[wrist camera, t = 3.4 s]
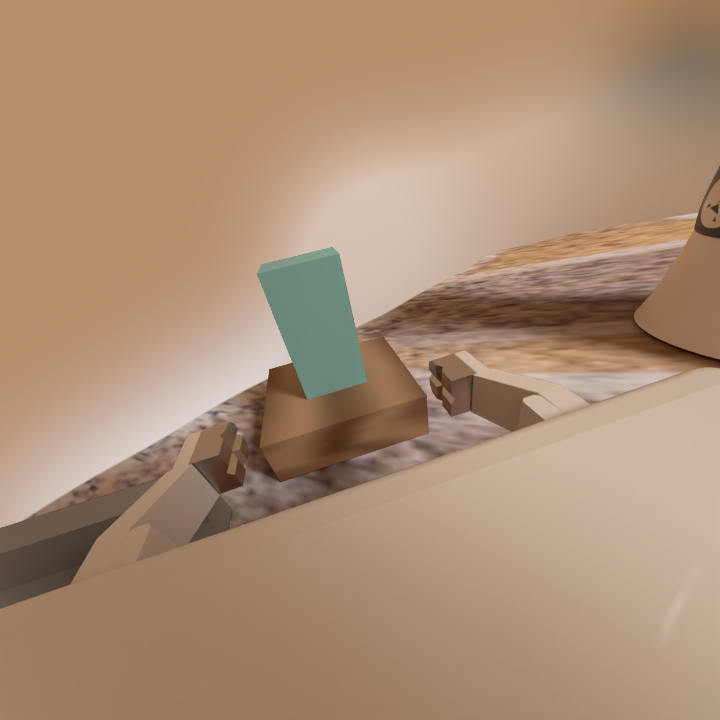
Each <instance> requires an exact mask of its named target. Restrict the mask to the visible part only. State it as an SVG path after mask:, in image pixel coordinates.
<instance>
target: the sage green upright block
mask: <svg viewBox="0 0 720 720" xmlns="http://www.w3.org/2000/svg"><path fill="white" fill-rule="evenodd" d="M257 275H258V278H259V280H260V283H261V285H262V288H263V290H264V292H265V295H266V297H267V300H268V303H269V305H270V307H271V310H272V313H273V315H274V318H275V320H276V323H277V325H278V328H279V330H280V333H281V335H282V338H283V340H284V343H285V345H286V348H287V350H288V353H289V355H290V357H291V360H292V363H293V365H294V367H295V370H296V372H297V375H298V377H299V380H300V382H301V385H302V387H303V390H304V392H305V395H306V397H307V400H309V399H312V398H315V397H319V396H322V395H325V394H329V393H332V392H335V391H338V390H342V389H345V388H348V387H352V386H355V385H358V384H362V383H365V382H367V378H366V374H365V369H364V364H363V360H362V355H361V351H360V346H359V342H358V337H357V333H356V328H355V323H354V319H353V314H352V310H351V305H350V301H349V296H348V292H347V287H346V282H345V278H344V273H343V269H342V264H341V260H340V255H339V253H338V252H337V251H336V250H335V249H334V248H333V247H331V248H327V249H323V250H318V251H314V252H310V253H306V254H302V255H298V256H294V257H290V258H286V259H282V260H278V261H274V262H270V263H266V264H262V265H261V267H260V269H259V271H258V273H257Z"/></svg>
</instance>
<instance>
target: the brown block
mask: <svg viewBox="0 0 720 720" xmlns="http://www.w3.org/2000/svg"><path fill="white" fill-rule="evenodd" d="M359 346H360V351H361V355H362V360H363V364H364V369H365V374H366V378H367V382H365V383H362V384H358V385H355V386H352V387H348V388H345V389H342V390H338V391H335V392H332V393H329V394H325V395H322V396H319V397H315V398H312V399H309V400H307V397H306V395H305V392H304V390H303V387H302V385H301V382H300V380H299V377H298V375H297V372H296V370H295V367H294V365H293V363H290V364H287V365H283V366H279V367H276V368H273V369H270V370H269V377H268V385H267V392H266V400H265V408H264V416H263V424H262V432H261V440H260V447H259V448H260V450H261V451H262V453H263V455H264V456H265V458H266V459H267V461H268V463H269V464H270V466H271V467H272V469H273V471H274V472H275V474H276V475H277V477H278V479H279V480H280V482H282V481H285V480H288V479H291V478H294V477H297V476H300V475H303V474H306V473H309V472H312V471H315V470H318V469H321V468H324V467H327V466H330V465H333V464H336V463H339V462H343V461H346V460H349V459H352V458H355V457H358V456H361V455H364V454H367V453H370V452H373V451H376V450H379V449H382V448H385V447H388V446H391V445H394V444H397V443H400V442H403V441H406V440H409V439H412V438H415V437H418V436H421V435H424V434H427V433H429V428H428V412H427V396H426V394H425V393H424V391H423V390H422V389H421V387H420V386H419V385H418V383H417V382H416V380H415V379H414V378H413V376H412V375H411V374H410V372H409V371H408V370H407V368H406V367H405V365H404V364H403V363H402V361H401V360H400V359H399V357H398V356H397V355H396V353H395V352H394V350H393V349H392V348H391V346H390V345H389V344H388V342H387V341H386V340H385V338H384V337H381V338H377V339H374V340H370V341H367V342H363V343H360V344H359Z"/></svg>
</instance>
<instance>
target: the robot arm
mask: <svg viewBox="0 0 720 720" xmlns="http://www.w3.org/2000/svg"><path fill="white" fill-rule="evenodd" d="M634 319H635V321H636V323H637V324H638V325H639V326H640V327H641V328H642V329H643V330H645V331H646V332H648V333H649V334H651V335H653V336H654V337H656V338H658V339H660V340H662V341H665V342H667V343H669V344H672V345H674V346H677V347H680V348H683V349H686V350H689V351H692V352H695V353H698V354H701V355H705V356H709V357H712V358H716V359H720V166H719V169H718V170H717V172H716V174H715V176H714V178H713V180H712V182H711V184H710V186H709V189H708V191H707V193H706V195H705V197H704V199H703V202H702V204H701V207H700V210H699V213H698V216H697V220H696V224H695V228H694V231H693V232H692V234H691V236H690V238H689V239H688V241H687V243H686V244H685V246H684V248H683V249H682V251H681V252H680V254H679V256H678V257H677V259H676V260H675V262H674V263H673V265H672V266H671V268H670V269H669V271H668V272H667V273H666V275H665V276H664V278H663V279H662V280H661V282H660V283H659V284H658V286H657V287H656V288H655V290H654V291H653V292H652V293H651V294H650V296H649V297H648V298H647V299H646V300H645V301H644V303H643V304H642V305H641V306H640V307H639V308H638V309H637V310H636V311H635V313H634ZM429 370H430V371H431V373H432V375H431V376H430V378H429V379H430V386H431V389H432V392H433V393H434V395H435V397H436V398H437V399H439V400H442V401H443V407H444V408H445V409H446V411H447V412H448V413H449V414H450V416H451V417H452V416H455V415H459V414H462V413H465V412H469V411H471V412H473V413H475V414H477V415H479V416H481V417H483V418H485V419H487V420H489V421H491V422H493V423H495V424H497V425H499V426H501V427H503V428H505V429H507V430H509V431H511V432H510V433H507V434H504V435H501V436H498V437H495V438H492V439H490V440H487V441H484V442H481V443H478V444H475V445H472V446H469V447H466V448H464V449H461V450H458V451H455V452H452V453H449V454H446V455H443V456H440V457H437V458H435V459H432V460H429V461H426V462H423V463H420V464H417V465H414V466H411V467H409V468H406V469H403V470H400V471H397V472H394V473H391V474H388V475H385V476H382V477H380V478H377V479H374V480H371V481H368V482H365V483H362V484H359V485H356V486H354V487H351V488H348V489H345V490H342V491H339V492H336V493H333V494H330V495H328V496H325V497H322V498H319V499H316V500H313V501H310V502H307V503H304V504H302V505H299V506H296V507H293V508H290V509H287V510H284V511H281V512H278V513H276V514H273V515H270V516H267V517H264V518H261V519H258V520H255V521H252V522H250V523H247V524H244V525H241V526H238V527H235V528H232V529H229V530H226V531H224V532H221V533H218V534H215V535H212V536H209V537H206V538H203V539H200V540H197V541H195V542H192V543H189V542H190V540H191V539H192V537H193V535H194V534H195V532H196V531H197V529H198V528H199V526H200V525H201V523H202V522H203V520H204V519H205V517H206V516H207V514H208V513H209V511H210V510H211V508H212V507H213V505H214V503H215V502H216V500H217V499H218V497H219V496H220V495H219V494H221V493H224V492H227V491H229V490H232V489H235V488H238V487H241V486H243V482H244V476H245V469H244V467H243V465H244V463H245V462H246V461H247V458H248V448H247V444H246V442H245V440H244V438H243V437H242V436H240V435H237V434H236V433H237V428H236V426H235V425H234V424H233V423H231V422H229V423H225V424H222V425H218V426H215V427H211V428H208V429H204V430H201V431H198V432H194V433H191V434H190V435H188V436H187V438H186V440H185V442H184V444H183V447H182V449H181V451H180V453H179V455H178V458H177V460H176V462H175V464H174V466H173V469H172V470H171V471H168V472H166V473H165V474H164V475H163V476H162V477H161V478H160V479H159V480H158V481H157V482H156V483H155V484H154V485H153V486H152V487H151V488H150V489H149V490H148V491H147V492H145V493H144V494H143V495H142V496H141V497H140V498H139V499H138V500H137V501H136V502H135V503H134V504H133V505H132V506H131V507H130V508H129V509H128V510H127V511H126V512H125V513H124V514H122V515H121V516H120V517H119V518H118V519H117V520H116V521H115V522H114V523H113V524H112V525H111V526H110V527H109V528H108V529H107V530H106V531H105V532H104V533H103V534H102V535H100V536H99V537H98V538H97V539H96V541H95V543H94V545H93V546H92V548H91V550H90V551H89V553H88V555H87V557H86V558H85V560H84V562H83V563H82V565H81V567H80V569H79V570H78V572H77V574H76V575H75V577H74V579H73V581H72V582H71V584H70V585H67V586H65V587H62V588H59V589H56V590H53V591H50V592H47V593H44V594H41V595H39V596H36V597H33V598H30V599H27V600H24V601H21V602H18V603H15V604H13V605H10V606H7V607H4V608H1V609H0V720H720V368H711V367H705V368H697V369H693V370H689V371H686V372H683V373H680V374H677V375H674V376H671V377H669V378H666V379H663V380H660V381H657V382H654V383H651V384H648V385H646V386H643V387H640V388H637V389H634V390H631V391H628V392H625V393H622V394H620V395H617V396H614V397H611V398H608V399H605V400H602V401H599V402H596V403H594V404H589V403H588V402H586V401H585V400H583V399H581V398H580V397H578V396H577V395H575V394H574V393H572V392H571V391H569V390H568V389H566V388H565V387H563V386H561V385H559V384H554V383H550V382H546V381H542V380H538V379H534V378H530V377H525V376H521V375H517V374H513V373H509V372H505V371H501V370H497V369H490V370H489V369H488V368H487V367H485V366H484V365H483V364H482V363H480V362H479V361H478V360H477V359H475V358H474V357H473V356H472V355H470V354H469V353H468V352H467V351H464V350H462V351H459V352H457V353H454V354H452V355H449V356H445V357H442V358H439V359H436V360H432V361H430V362H429ZM188 543H189V544H188Z"/></svg>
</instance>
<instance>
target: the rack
mask: <svg viewBox="0 0 720 720" xmlns="http://www.w3.org/2000/svg"><path fill="white" fill-rule="evenodd" d="M159 479H160V478H158V479H155V480H152V481H149V482H146V483H142V484H139V485H136V486H133V487H130V488H127V489H123V490H120V491H117V492H114V493H111V494H107V495H104V496H101V497H98V498H95V499H92V500H88V501H85V502H82V503H79V504H76V505H72V506H69V507H66V508H63V509H60V510H57V511H53V512H50V513H47V514H44V515H41V516H37V517H34V518H31V519H28V520H25V521H22V522H18V523H15V524H12V525H9V526H6V527H2V528H0V609H1V608H4V607H7V606H10V605H13V604H15V603H18V602H21V601H24V600H27V599H30V598H33V597H36V596H39V595H41V594H44V593H47V592H50V591H53V590H56V589H59V588H62V587H65V586H67V585H70V584H71V582H72V581H73V579H74V577H75V575H76V574H77V572H78V570H79V569H80V567H81V565H82V563H83V562H84V560H85V558H86V557H87V555H88V553H89V551H90V550H91V548H92V546H93V545H94V543H95V541H96V539H97V538H98V537H99V536H100V535H102V534H103V533H104V532H105V531H106V530H107V529H108V528H109V527H110V526H111V525H112V524H113V523H114V522H115V521H116V520H117V519H118V518H119V517H120V516H121V515H122V514H124V513H125V512H126V511H127V510H128V509H129V508H130V507H131V506H132V505H133V504H134V503H135V502H136V501H137V500H138V499H139V498H140V497H141V496H142V495H143V494H144V493H145V492H147V491H148V490H149V489H150V488H151V487H152V486H153V485H154V484H155V483H156V482H157V481H158V480H159ZM231 513H232V509H231V507H230V506H229V505H228V504H227V503H226V502H225V501H224V500H223V498H222V497H221V496H219V497H218V499H217V500H216V502H215V503H214V505H213V507H212V508H211V510H210V511H209V513H208V514H207V516H206V517H205V519H204V520H203V522H202V523H201V525H200V526H199V528H198V529H197V531H196V532H195V534H194V535H193V537H192V539H191V540H190V542H189V543H192V542H195V541H197V540H200V539H203V538H206V537H209V536H212V535H215V534H218V533H221V532H224V531H226V530H228V528H229V523H230V518H231ZM189 543H188V544H189Z"/></svg>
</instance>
